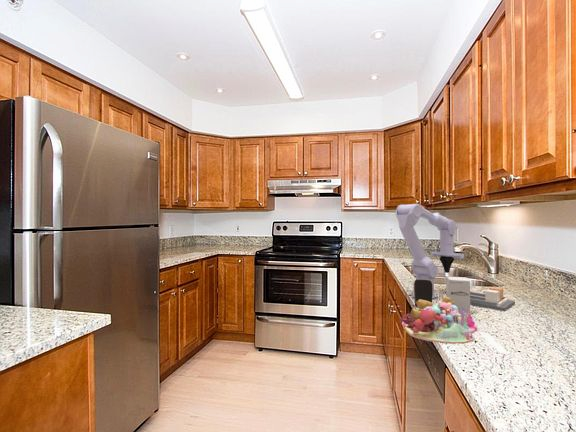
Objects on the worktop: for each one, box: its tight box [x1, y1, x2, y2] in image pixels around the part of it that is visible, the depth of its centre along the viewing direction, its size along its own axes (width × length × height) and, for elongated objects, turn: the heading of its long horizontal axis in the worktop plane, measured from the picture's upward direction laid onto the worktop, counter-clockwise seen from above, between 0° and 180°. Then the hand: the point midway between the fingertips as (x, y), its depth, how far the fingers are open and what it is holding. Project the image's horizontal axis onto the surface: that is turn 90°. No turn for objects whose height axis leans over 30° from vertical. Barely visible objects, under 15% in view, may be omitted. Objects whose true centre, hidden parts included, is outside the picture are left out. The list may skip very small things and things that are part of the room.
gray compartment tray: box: [470, 291, 516, 312], centre depth 132 cm, size 15×19×2 cm
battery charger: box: [413, 277, 434, 308], centre depth 127 cm, size 7×4×11 cm, turn 66°
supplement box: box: [445, 275, 471, 314], centre depth 121 cm, size 7×7×13 cm
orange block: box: [488, 286, 504, 300], centre depth 131 cm, size 4×4×5 cm
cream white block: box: [484, 288, 500, 303], centre depth 126 cm, size 4×4×5 cm
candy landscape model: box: [398, 296, 478, 344], centre depth 102 cm, size 25×24×9 cm
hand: (447, 272), depth 148 cm, fingers closed
